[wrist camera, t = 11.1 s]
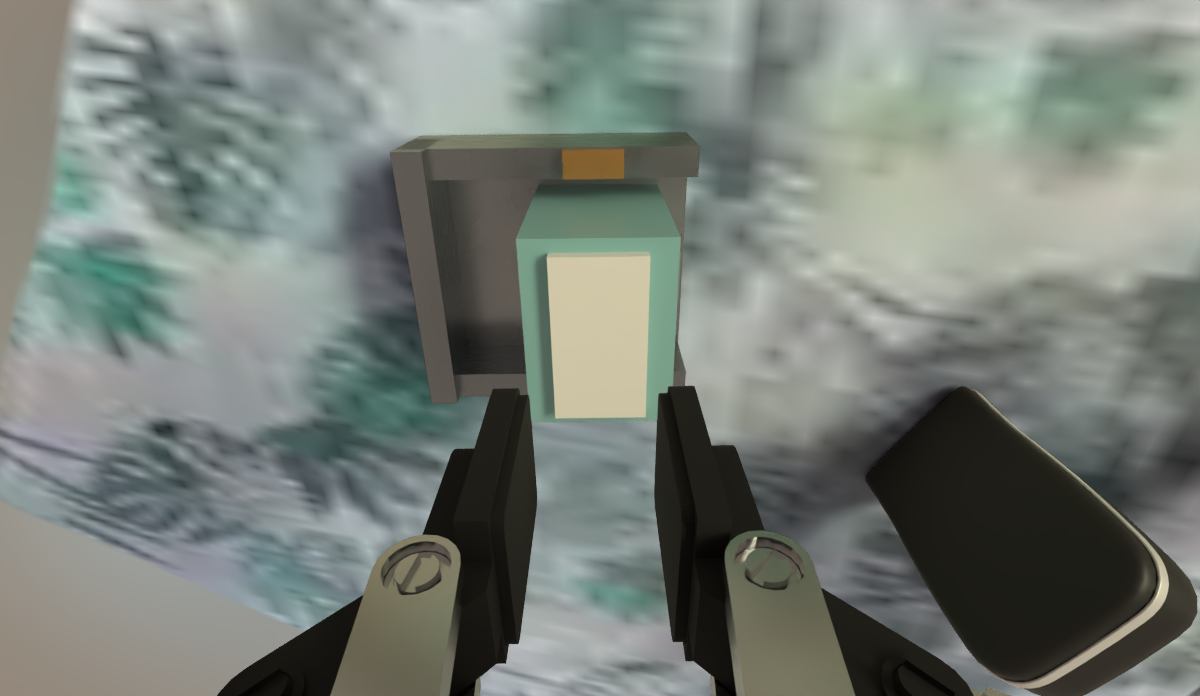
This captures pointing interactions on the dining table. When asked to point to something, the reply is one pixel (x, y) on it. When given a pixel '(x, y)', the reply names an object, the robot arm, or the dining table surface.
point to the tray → (505, 236)
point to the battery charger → (1027, 553)
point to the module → (598, 301)
